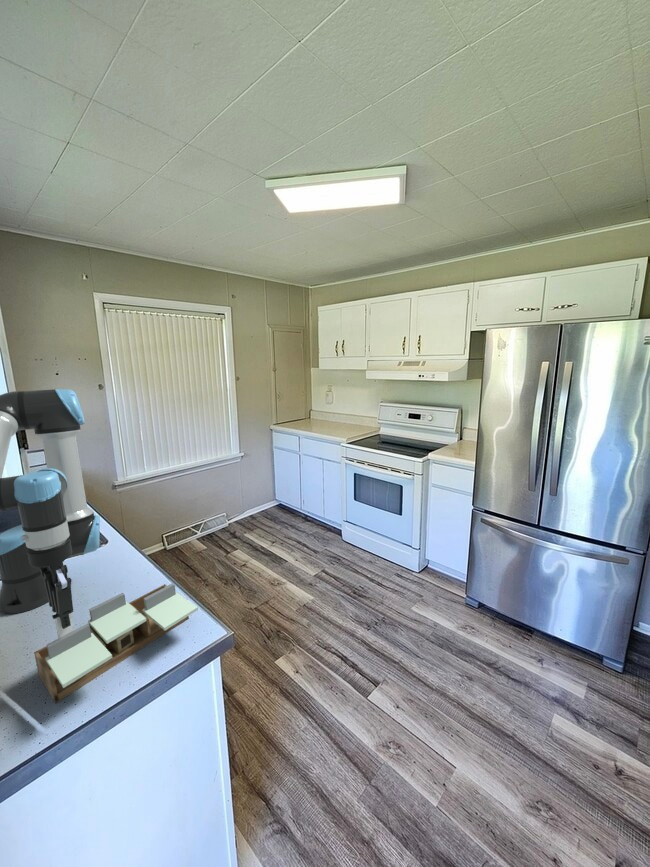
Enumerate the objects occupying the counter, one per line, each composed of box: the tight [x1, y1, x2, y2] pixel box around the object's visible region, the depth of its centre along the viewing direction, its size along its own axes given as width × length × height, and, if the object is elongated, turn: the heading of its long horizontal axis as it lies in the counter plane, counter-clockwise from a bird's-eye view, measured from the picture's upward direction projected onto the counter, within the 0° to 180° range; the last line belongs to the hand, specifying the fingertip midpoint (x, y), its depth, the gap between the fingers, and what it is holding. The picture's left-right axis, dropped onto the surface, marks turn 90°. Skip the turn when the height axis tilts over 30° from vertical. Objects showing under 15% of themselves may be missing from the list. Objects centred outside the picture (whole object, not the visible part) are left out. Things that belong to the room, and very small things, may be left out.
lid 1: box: [45, 623, 112, 688], centre depth 78 cm, size 11×9×4 cm
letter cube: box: [109, 630, 134, 653], centre depth 90 cm, size 4×4×4 cm
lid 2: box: [87, 592, 146, 644], centre depth 89 cm, size 11×9×4 cm
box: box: [33, 584, 190, 704], centre depth 90 cm, size 12×31×7 cm, turn 142°
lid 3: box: [142, 582, 199, 631], centre depth 92 cm, size 11×9×4 cm
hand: (66, 637), depth 81 cm, fingers closed
